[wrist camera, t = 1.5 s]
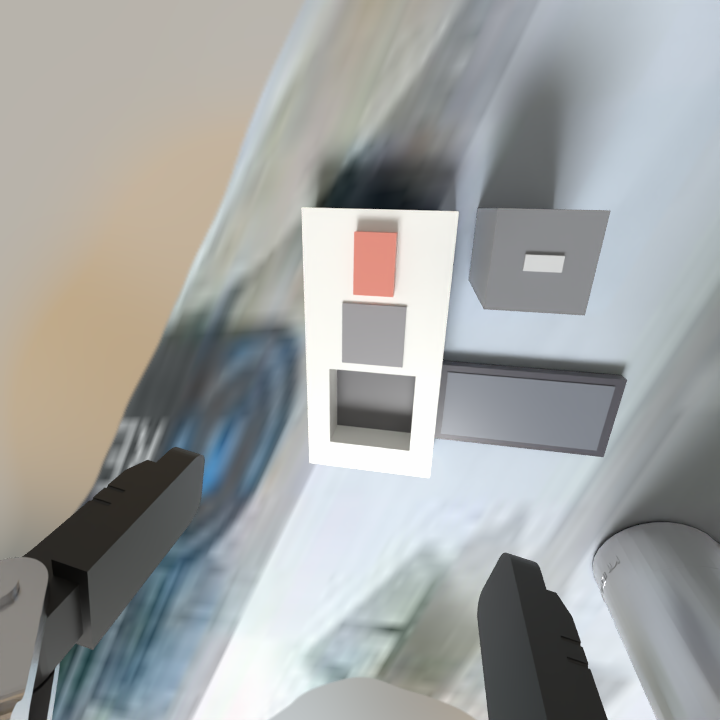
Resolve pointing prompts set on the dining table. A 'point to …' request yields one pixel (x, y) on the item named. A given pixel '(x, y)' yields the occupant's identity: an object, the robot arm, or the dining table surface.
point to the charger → (536, 258)
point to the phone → (528, 407)
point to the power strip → (375, 334)
